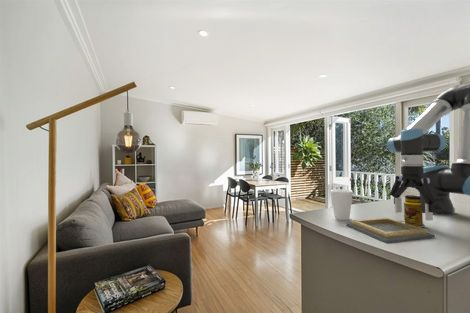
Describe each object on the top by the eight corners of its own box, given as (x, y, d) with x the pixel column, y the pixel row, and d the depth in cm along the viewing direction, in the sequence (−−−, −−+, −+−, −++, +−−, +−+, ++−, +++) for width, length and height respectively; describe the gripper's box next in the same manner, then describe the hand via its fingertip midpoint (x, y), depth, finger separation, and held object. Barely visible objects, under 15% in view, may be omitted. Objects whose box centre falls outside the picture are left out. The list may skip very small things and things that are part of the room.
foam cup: (333, 220, 106) (332, 191, 106) (329, 215, 115) (329, 189, 115) (355, 221, 103) (355, 192, 104) (350, 216, 112) (350, 189, 113)
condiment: (405, 226, 95) (404, 196, 95) (400, 220, 103) (399, 193, 103) (427, 228, 92) (426, 197, 92) (420, 222, 100) (420, 194, 100)
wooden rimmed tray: (387, 222, 101) (387, 216, 101) (434, 237, 81) (434, 230, 81) (346, 225, 97) (346, 219, 97) (386, 242, 78) (385, 235, 78)
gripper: (380, 164, 109) (381, 210, 109) (435, 166, 85) (436, 224, 85) (393, 164, 111) (394, 209, 111) (451, 166, 86) (452, 223, 86)
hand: (412, 216), depth 98 cm, fingers open, 13 cm apart
